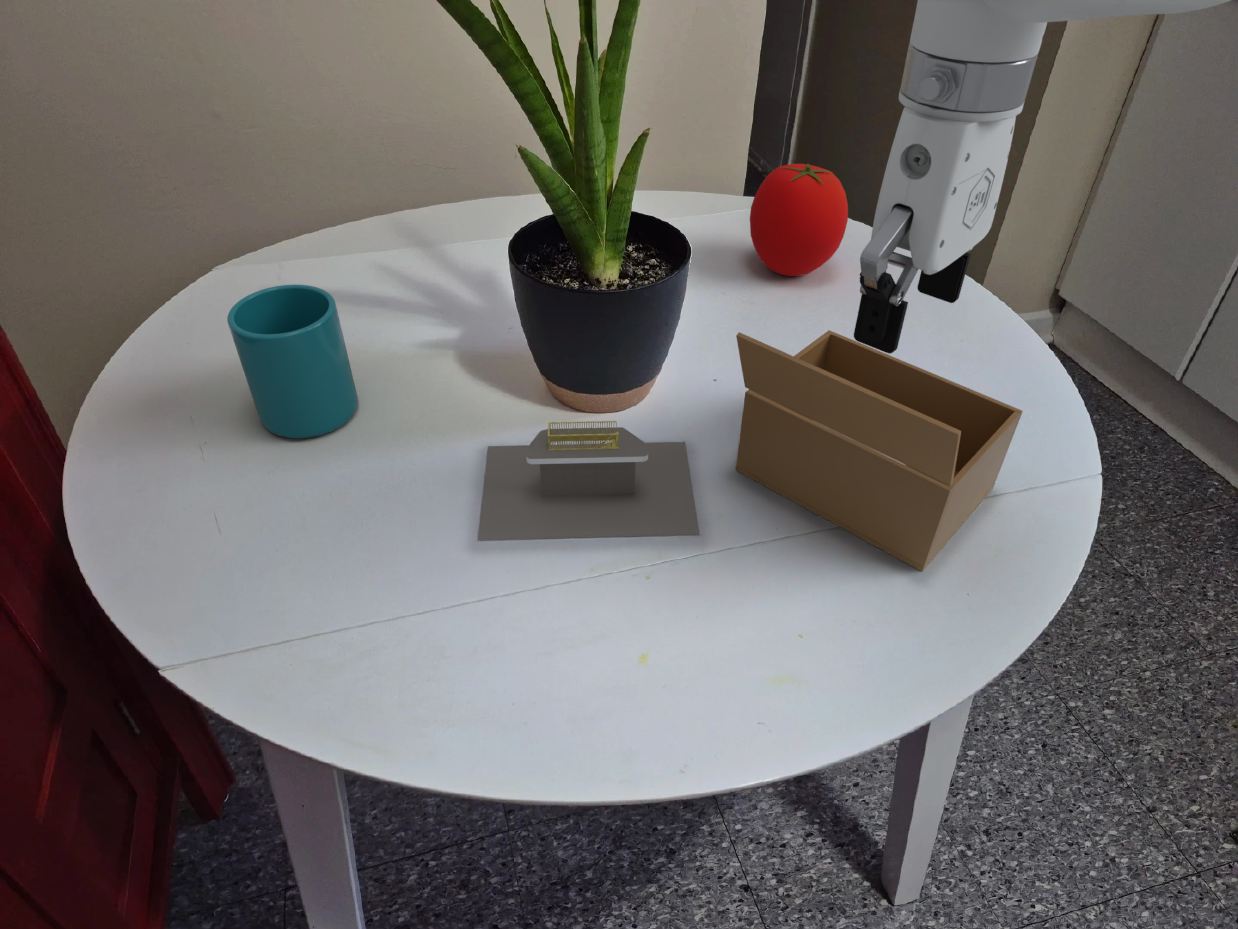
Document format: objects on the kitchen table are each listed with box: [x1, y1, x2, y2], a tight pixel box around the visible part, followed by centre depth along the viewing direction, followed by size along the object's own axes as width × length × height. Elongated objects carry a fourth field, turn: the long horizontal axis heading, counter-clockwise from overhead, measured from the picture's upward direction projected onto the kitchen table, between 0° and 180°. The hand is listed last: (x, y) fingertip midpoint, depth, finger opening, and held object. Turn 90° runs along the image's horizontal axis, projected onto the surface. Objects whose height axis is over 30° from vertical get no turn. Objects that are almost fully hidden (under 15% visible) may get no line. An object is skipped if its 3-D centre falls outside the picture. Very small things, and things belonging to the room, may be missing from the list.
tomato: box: [749, 163, 849, 277], centre depth 101 cm, size 11×11×13 cm
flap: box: [735, 331, 961, 486], centre depth 64 cm, size 18×6×1 cm
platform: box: [477, 420, 701, 541], centre depth 73 cm, size 12×18×7 cm, turn 92°
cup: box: [227, 284, 359, 439], centre depth 80 cm, size 9×12×11 cm
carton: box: [735, 329, 1023, 572], centre depth 73 cm, size 18×13×8 cm
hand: (906, 319), depth 65 cm, fingers open, 9 cm apart
